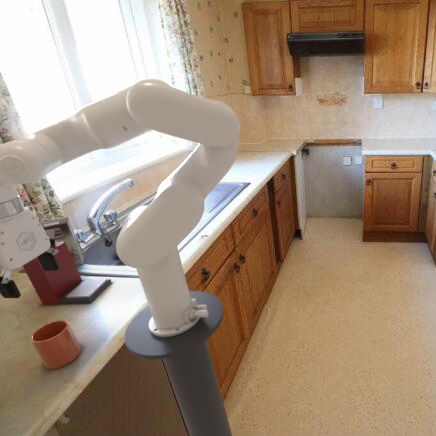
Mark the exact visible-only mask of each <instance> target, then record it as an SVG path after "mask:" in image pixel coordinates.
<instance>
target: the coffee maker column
mask: <svg viewBox="0 0 436 436" xmlns="http://www.w3.org/2000/svg"><path fill="white" fill-rule="evenodd" d="M53 249H54V250H55V249H58V251H59V252H58V253H57V254H55V255H54V258H55V260H56V262H57V264H58V267H59V269H58V270H57V271H44V270H43V268H42V265H41V263H40V261H39V259H38V257H36V258H34V259H33V260H31V261H30V262H28V263H26V264H25V265H23V266H22V268H23V269H24V271H25V273H26V276H27V277H28V279H29V281H30V283H31V285H32V287H33V289H34V291H35V293H36V295H37V296H38V298H39V300H40V303H41V304H42V305H43V306H45V305H60V304H59V302H58V300H59V299H60V298H61V297H62V296H63V295H64V294H66V293H67V292H68V291H69V290H70V289H72V288H73V287H74V286H75V285H76V284H78V283H79V282H80V281H81V280H83V279H82V276H81V274H80V273H79V269H78V267H77V265H75V263H74V261H73V258H72V256H71V254H70V251H69V249H68V247H67V245H66V242H55V244H54V248H53Z"/></svg>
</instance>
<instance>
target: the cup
mask: <svg viewBox="0 0 436 436" xmlns="http://www.w3.org/2000/svg"><path fill="white" fill-rule="evenodd" d="M29 339H30V342H31V344H32V346H33V347H34V349H35V351H36V353H37V354H38V356H39V358H40V360H41V361H42V363H43V365H44V366H45V368H47V369H53V370H55V369H59V368H62V367H64V366H67V365H69V364H70V363H71V362H73V361H75V359H77V358H78V356H80V354H81V351H82V347H81V345H80V343H79V341H78V339H77V337H76V335H75V332H74V330H73V329H72V327H71V325H70V323H69V321H68V320H65V319H57V320H54V321H51V322H48V323H44V324H43V325H41V326H39V328H37V329H36V330H35V331H33V333H32V334H31V335H30V338H29Z"/></svg>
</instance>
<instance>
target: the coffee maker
mask: <svg viewBox="0 0 436 436" xmlns="http://www.w3.org/2000/svg"><path fill="white" fill-rule="evenodd" d="M58 252H59V251H58V249H55V252H54V253H53V255H55V254H57V253H58ZM112 283H113V282H112V279H111V278H89V279H88V278H87V279H82V280H81V281H80V282H79V283H78V284H76V285H75V286H74V287H73V288H72V289H70V290H69V291H68V292H67V293H66V294H64V295H63V296H62V297H61V298H60V299H59V300H58V302H59V304H58V305H83V304H84V305H85V304H89V305H90V304H92V303H93V302H94V301H95V300H96V299H97V298H98V297H99V296H100V295H101V294H102V293H103V292H104V291H105V290H106V289H108V288H109V286H110V285H111V284H112Z"/></svg>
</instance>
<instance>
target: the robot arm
mask: <svg viewBox="0 0 436 436" xmlns="http://www.w3.org/2000/svg"><path fill="white" fill-rule="evenodd" d="M240 130H241V123H240V119H239V117H238V115H237V113H236V112H235V111H234V110H233V108H231V107H230V106H229V104H227V103H225V102H224V101H221V100H217V99H208V98H205V97H202V96H199V95H196V94H193V93H189V92H187V91H184V90H181V89H178V88H176V87H173V86H171V85H170V84H169V83H167V82H165V81H164V80H161V79H158V78H157V79H156V78H148V79H142V80H139V81H137V82H136V83H134V84H133V85H131V86H128V87H126V88H123V89H122V90H119V91H117V92H115V93H112V94H110V95H107V96H106V97H103V98H101V99H98V100H96V101H94V102H91V103H89V104H86V105H84V106H82V107H80V108H79V109H78V110H76V112H75V113H73V115H71V116H69V117H67V118H65V119H63V120H60V121H58V122H56V123H54V124H51V125H49V126H47V127H44V128H42V129H39V130H37V131H34V132H32V133H30V134H27V135H24V136H21V137H19V138H16V139H13V140H10V141H8V142H5V143H1V144H0V273H1V276H0V295H1V296H2V298H4V299H19V298H21V297H22V293H21V291H20V290H19V288H18V285H17V284H16V282H15V280H13V279H11V275H12V272H13V270H17V269H19V268H21V267H23V265H25V264H26V263H28V262H30V261H31V260H33V259H34V258H36V257H38V259H39V261H40V263H41V265H42V268H43V270H44V271H57V270H58V269H59V267H58V264H57V262H56V260H55V258H54V255H53V253H54V252H55V250H54V249H53V248H54V244H55V240H54V233H55V232H54V230H44V229H43V227H42V225H41V224H40V222H41V221H40V220H39V219H38V217H37V216H36V215H35V213H34V212H33V211H32V209H30V208H29V207H28V206H25V205H24V203H23V201H22V198H21V197H20V194H19V191H18V190H17V188H16V186H15V185H26V184H32V183H35V182H37V181H40V180H41V179H42V178H44V177H46V176H47V175H48V174H50V173H51V172H53V171H54V170H56V169H57V168H59V167H61V166H63V165H65V164H67V163H70V162H72V161H73V160H76V159H78V158H81V157H83V156H85V155H87V154H91V153H92V152H95V151H99V150H110V149H113V148H116V147H118V146H120V145H122V144H124V143H127V142H129V141H131V140H133V139H135V138H137V137H140V136H142V135H144V134H146V133H149V132H151V131H155V132H158V133H161V134H165V135H168V136H171V137H175V138H178V139H182V140H185V141H189V142H192V143H197V145H196V147H195V148H194V149H193V151H192V152H191V153H190V154H189V155H188V156H187V157H186V159H185V160H184V161H183V162H182V163H181V164H180V165H179V166H178V167H177V168H176V169H175V170H174V171H173V172H172V173H171V174H170V175H169V176H167V178H166V179H164V180H163V181H162V182H161V183H160V184H159V186H158V188H157V191H156V193H155V197H154V198H153V199H152V201H151V202H150V203H149V204H147V205H142V206H138V207H136V208H135V209H133V210H132V211H131V212H130V213H129V214H128V215H127V216H126V217H125V220H124V222H123V224H122V226H121V228H120V231H119V234H118V236H117V237H116V241H115V251H116V255H117V257H118V259H119V260H120V261H121V262H122V263H123V264H124V265H126V266H127V267H130V268H132V269H136V273H137V275H138V278H139V281H140V284H141V287H142V290H143V292H144V295H145V299H146V302H147V305H148V306H149V307H150V310H151V313H152V317H151V319H150V321H149V329H150V331H151V333H152V334H153V335H155V336H159V337H171V336H175V335H178V334H181V333H183V332H185V331H187V330H188V329H190V328H191V327H193V326H194V325H195V324H196V323H197V322H198V320H199V319H200V318H207V317H208V314H209V312H208V310H206V309H207V305H198V304H197V303H196V299H191V296H190V293H189V291H190V289H189V286H188V283H187V279H186V275H185V274H186V273H185V272H184V267H183V263H182V260H181V255H180V252H179V248H178V246H179V245H180V244H181V243H182V242H183V241H184V240H185V239H186V238H187V237H188V236H189V235H190V234H191V233H192V231H193V230H194V229H195V228H196V227H197V226H198V224H199V223H200V221H201V220H202V218H203V215H204V212H205V200H206V198H207V197H208V195H210V193H211V192H212V191H213V190H214V189H215V188H216V187H217V186H218V184H219V183H220V182H221V181H222V180H223V179H224V178H225V176H226V175H227V174H228V173H229V171H230V170H231V168H232V167H233V166H234V163H235V161H236V158H237V155H238V151H239V143H240V142H239V141H240V135H239V134H240ZM1 271H2V272H1Z"/></svg>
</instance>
